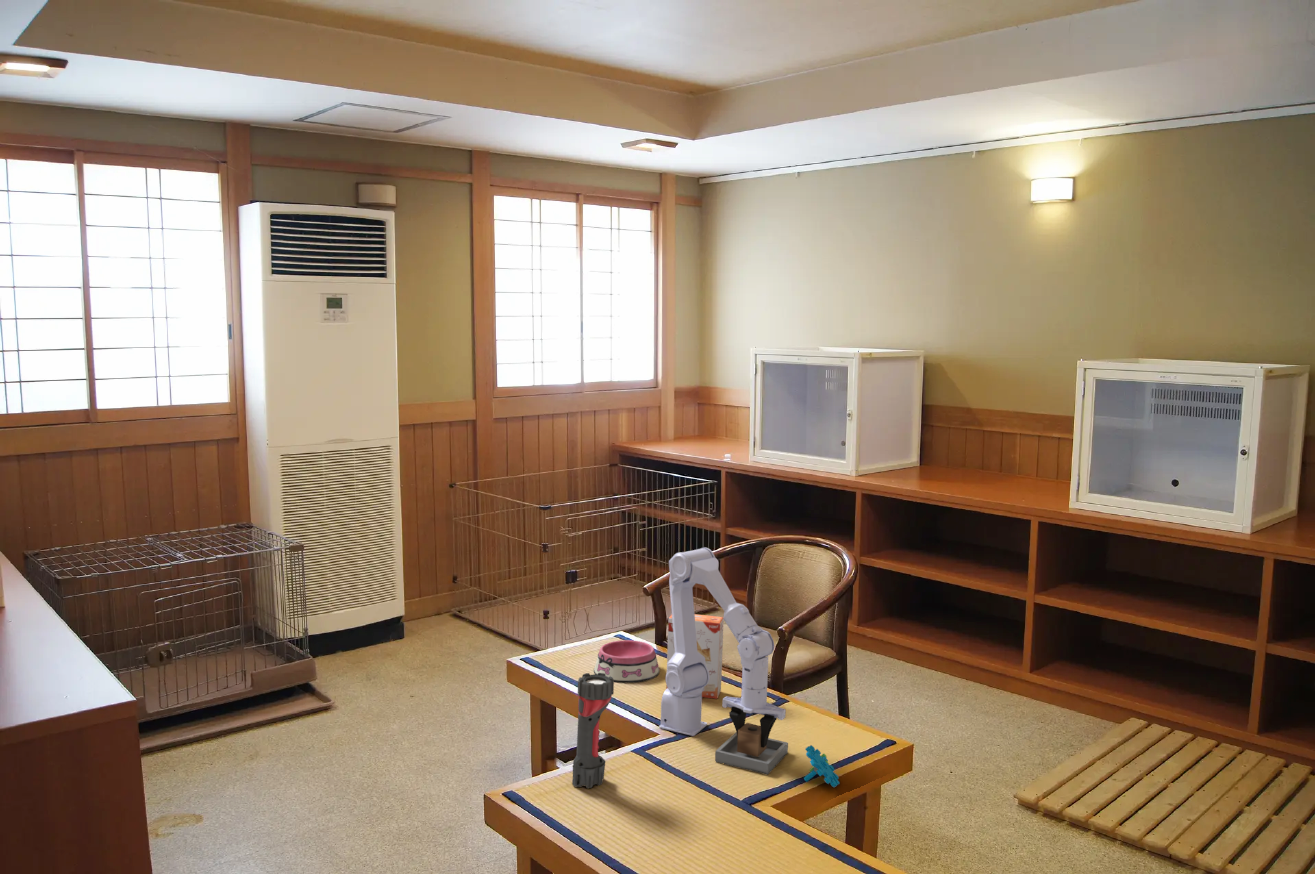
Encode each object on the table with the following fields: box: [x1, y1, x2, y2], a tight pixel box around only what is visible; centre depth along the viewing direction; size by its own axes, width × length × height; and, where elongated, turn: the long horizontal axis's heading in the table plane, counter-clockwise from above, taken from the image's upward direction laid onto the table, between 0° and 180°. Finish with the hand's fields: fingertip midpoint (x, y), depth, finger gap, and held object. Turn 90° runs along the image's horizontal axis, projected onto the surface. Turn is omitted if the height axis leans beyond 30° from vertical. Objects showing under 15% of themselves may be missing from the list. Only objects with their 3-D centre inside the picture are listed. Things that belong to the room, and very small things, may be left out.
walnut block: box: [737, 722, 766, 757], centre depth 218 cm, size 5×5×5 cm
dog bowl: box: [593, 639, 660, 684], centre depth 271 cm, size 18×19×7 cm
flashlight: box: [571, 672, 615, 789], centre depth 204 cm, size 8×8×23 cm
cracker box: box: [665, 613, 725, 700], centre depth 255 cm, size 14×6×21 cm, turn 76°
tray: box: [714, 732, 789, 776], centre depth 219 cm, size 13×13×2 cm
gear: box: [803, 744, 840, 788], centre depth 208 cm, size 11×6×10 cm
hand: (752, 742), depth 219 cm, fingers closed on walnut block, 5 cm apart
